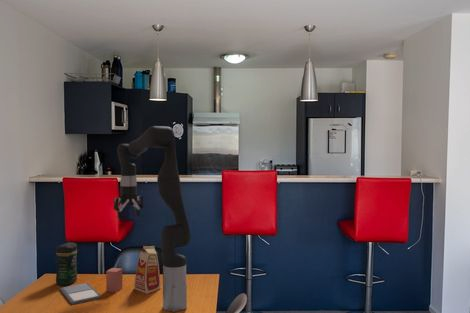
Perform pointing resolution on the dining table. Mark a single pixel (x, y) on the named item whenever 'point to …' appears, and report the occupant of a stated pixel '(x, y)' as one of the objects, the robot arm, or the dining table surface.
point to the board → (80, 293)
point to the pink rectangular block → (114, 279)
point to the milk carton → (147, 271)
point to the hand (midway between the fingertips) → (128, 218)
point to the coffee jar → (66, 264)
